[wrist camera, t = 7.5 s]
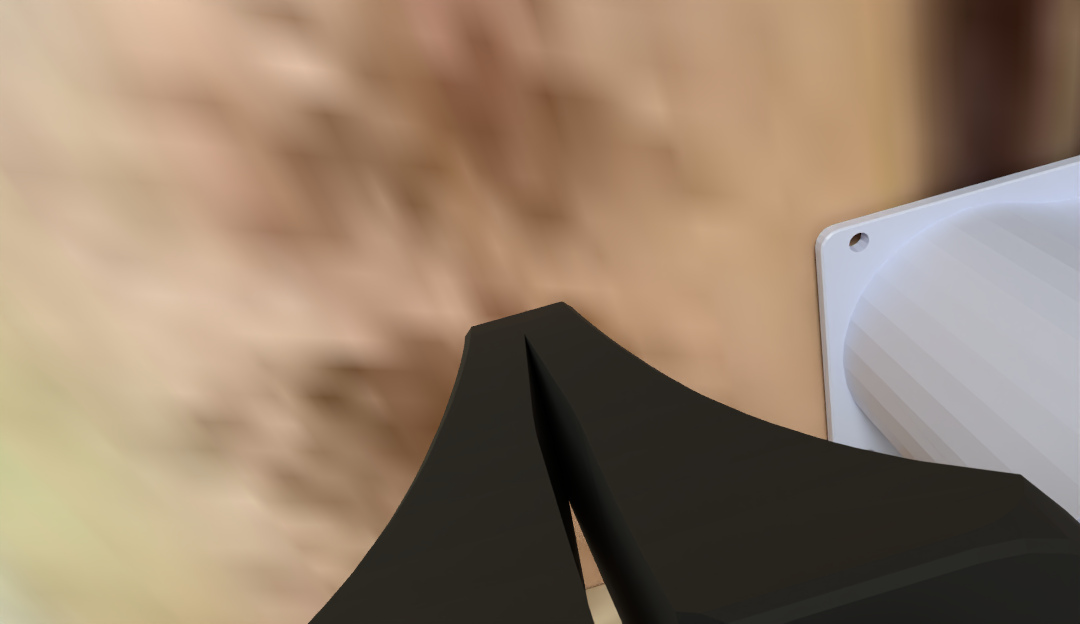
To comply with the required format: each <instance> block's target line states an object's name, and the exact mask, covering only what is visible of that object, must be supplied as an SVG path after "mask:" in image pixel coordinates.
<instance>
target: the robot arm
mask: <svg viewBox="0 0 1080 624" xmlns="http://www.w3.org/2000/svg"><path fill="white" fill-rule="evenodd" d="M858 233H861V238H860V240H859V241H858V242H857V243H856V244H854V245H852V246H849V243H850V240H851V238H852V237H853V236H854V235H856V234H858ZM815 252H816V267H817V281H818V296H819V311H820V325H821V340H822V355H823V369H824V384H825V399H826V413H827V428H828V440H824V439H820V438H817V437H813V436H810V435H807V434H804V433H801V432H798V431H794V430H791V429H788V428H785V427H782V426H778V425H775V424H772V423H769V422H767V421H764V420H761V419H758V418H756V417H753V416H750V415H748V414H745V413H743V412H740V411H738V410H736V409H733V408H731V407H729V406H726V405H724V404H722V403H719V402H717V401H715V400H712V399H710V398H708V397H705V396H703V395H701V394H699V393H697V392H695V391H693V390H691V389H689V388H688V387H686V386H684V385H682V384H681V383H679V382H677V381H675V380H673V379H672V378H670V377H668V376H666V375H665V374H663V373H661V372H660V371H658V370H656V369H655V368H653V367H651V366H650V365H648V364H647V363H645V362H644V361H642V360H641V359H639V358H638V357H636V356H635V355H633V354H632V353H630V352H629V351H627V350H626V349H624V348H623V347H621V346H620V345H619V344H617V343H616V342H614V341H613V340H612V339H610V338H609V337H608V336H606V335H605V334H604V333H602V332H601V331H600V330H598V329H597V328H596V327H595V326H593V325H592V324H591V323H590V322H588V321H587V320H586V319H585V318H584V317H582V316H581V315H580V314H579V313H578V312H577V311H576V310H574V309H573V308H572V307H571V306H569V305H567V304H566V303H564V302H558V303H555V304H551V305H547V306H544V307H540V308H537V309H533V310H530V311H526V312H523V313H519V314H515V315H512V316H508V317H505V318H501V319H498V320H494V321H491V322H487V323H484V324H480V325H476V326H473V327H471V328H470V330H469V332H468V333H467V335H466V336H465V344H464V350H463V355H462V359H461V363H460V367H459V371H458V374H457V378H456V381H455V384H454V387H453V390H452V393H451V396H450V399H449V402H448V404H447V407H446V410H445V413H444V416H443V418H442V421H441V423H440V426H439V428H438V430H437V432H436V435H435V437H434V439H433V441H432V444H431V446H430V448H429V450H428V452H427V455H426V457H425V459H424V461H423V463H422V465H421V467H420V469H419V471H418V473H417V475H416V477H415V479H414V481H413V483H412V485H411V486H410V488H409V490H408V492H407V494H406V495H405V497H404V499H403V500H402V502H401V504H400V505H399V507H398V509H397V510H396V512H395V514H394V515H393V517H392V519H391V520H390V522H389V523H388V525H387V526H386V528H385V529H384V530H383V532H382V533H381V535H380V536H379V538H378V539H377V541H376V542H375V543H374V545H373V546H372V547H371V549H370V550H369V551H368V553H367V554H366V556H365V557H364V558H363V560H362V561H361V562H360V564H359V565H358V566H357V568H356V569H355V570H354V572H353V573H352V574H351V575H350V577H349V578H348V579H347V580H346V581H345V583H344V584H343V585H342V586H341V587H340V588H339V590H338V591H337V592H336V593H335V594H334V595H333V597H332V598H331V599H330V600H329V601H328V602H327V604H326V605H325V606H324V607H323V608H322V609H321V610H320V611H319V612H318V613H317V614H316V615H315V617H314V618H313V619H312V620H311V621H310V622H309V623H308V624H595V623H594V620H593V617H592V614H591V611H590V608H589V605H588V600H587V595H586V590H585V584H584V579H583V574H582V568H581V563H580V558H579V552H578V547H577V542H576V536H575V531H574V526H573V521H572V515H571V510H570V505H569V502H570V504H571V507H572V509H573V511H574V514H575V516H576V518H577V521H578V523H579V525H580V528H581V530H582V532H583V535H584V537H585V539H586V541H587V544H588V546H589V548H590V551H591V553H592V555H593V558H594V560H595V562H596V564H597V567H598V569H599V571H600V574H601V576H602V578H603V580H604V583H605V585H606V587H607V590H608V592H609V594H610V597H611V599H612V601H613V603H614V606H615V608H616V610H617V613H618V615H619V617H620V619H621V622H622V624H1080V155H1079V156H1075V157H1072V158H1068V159H1065V160H1061V161H1057V162H1054V163H1050V164H1047V165H1043V166H1040V167H1036V168H1033V169H1029V170H1026V171H1022V172H1018V173H1015V174H1011V175H1008V176H1004V177H1001V178H997V179H994V180H990V181H986V182H983V183H979V184H976V185H972V186H969V187H965V188H962V189H958V190H954V191H951V192H947V193H944V194H940V195H937V196H933V197H930V198H926V199H923V200H919V201H915V202H912V203H908V204H905V205H901V206H898V207H894V208H891V209H887V210H883V211H880V212H876V213H873V214H869V215H866V216H862V217H859V218H855V219H851V220H848V221H844V222H841V223H837V224H834V225H831V226H829V227H827V228H825V229H824V230H823V231H822V232H821V233H820V234H819V236H818V238H817V240H816V245H815Z"/></svg>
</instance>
